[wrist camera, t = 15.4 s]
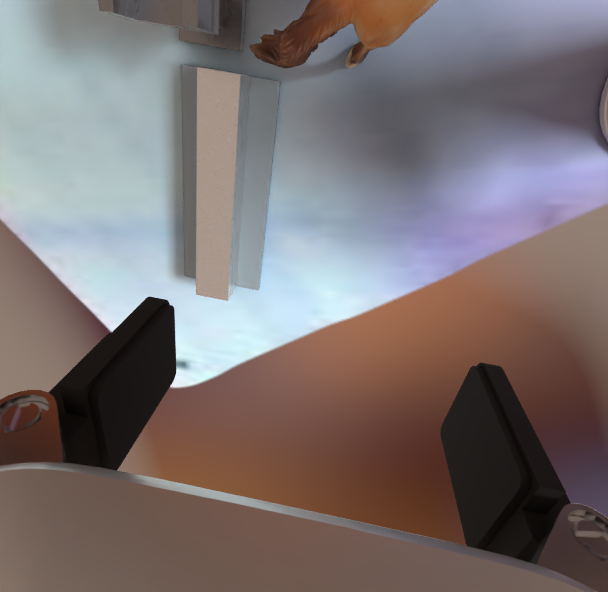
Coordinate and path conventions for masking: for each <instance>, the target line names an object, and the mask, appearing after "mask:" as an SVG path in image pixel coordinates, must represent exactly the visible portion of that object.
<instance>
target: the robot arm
mask: <svg viewBox="0 0 608 592" xmlns="http://www.w3.org/2000/svg"><path fill="white" fill-rule="evenodd" d="M599 116H600V125H601V129H602V133H603V135H604V136H605V138H606V140H607V142H608V78H607V81H606V84H605V86H604V89H603V92H602V96H601V101H600V107H599ZM175 375H176V348H175V318H174V307H173V306H171V305H169V302H168V301H167V300H164V299H159V298H154V297H148V298H146V299H145V300H144V301H143V302H142V303H141V304H140V305H139V306H138V307H137V308H136V309H135V310H134V311H133V312H132V313H131V314H130V315H129V316H128V317H127V318H126V319H125V320H124V321H123V322H122V323H121V324H120V325H119V326H118V327H117V328H116V329H115V330H114V331H113V332H112V333H109V334H108V335H106V337H104V338H103V339H102V340H101V341H100V342H99V343H98V344H97V345H96V346H95V347H94V348H93V349H92V350H91V351H90V352H89V353H88V354H87V355H86V356H85V357H84V358H83V359H82V360H81V361H80V362H79V363H78V364H77V365H76V366H75V367H74V368H73V369H72V370H71V371H70V372H69V373H68V374H67V375H66V376H65V377H64V378H63V379H62V380H61V381H60V382H59V383H58V384H57V385H56V386H55V387H54V388H53V389H52V390H51V391H50V392H49V393H48V392H45V391H41V390H27V391H21V392H17V393H14V394H12V395H8V396H6V397H4V398H2V399H0V592H608V518H607V517H605V516H604V515H603V514H601V513H599V512H598V511H596V510H594V509H593V508H590V507H588V506H585V505H583V504H576V503H570V501H569V499H568V497H567V495H566V493H565V492H566V491H565V490H564V488H563V486H562V484H561V482H560V480H559V478H558V476H557V474H556V472H555V470H554V468H553V466H552V465H551V462H550V461H549V459H548V456H547V454H546V453H545V451H544V449H543V447H542V445H541V443H540V441H539V439H538V437H537V435H536V433H535V431H534V430H533V427H532V425H531V423H530V421H529V419H528V417H527V415H526V414H525V412H524V410H523V408H522V406H521V404H520V402H519V400H518V398H517V396H516V394H515V392H514V390H513V388H512V386H511V384H510V382H509V381H508V378H507V376H506V374H505V372H504V371H503V369H502V368H501V367H500V366H496V365H491V364H485V363H479V364H478V365H477V366H473V367H471V368H470V370H469V372H468V374H467V376H466V378H465V380H464V382H463V384H462V386H461V388H460V390H459V392H458V394H457V396H456V398H455V400H454V402H453V404H452V406H451V408H450V410H449V412H448V414H447V416H446V418H445V420H444V422H443V424H442V427H441V439H442V443H443V447H444V452H445V456H446V460H447V464H448V469H449V473H450V477H451V482H452V486H453V490H454V494H455V498H456V503H457V507H458V511H459V515H460V519H461V524H462V528H463V532H464V537H465V541H466V544H467V546H464V545H460V544H456V543H452V542H447V541H443V540H439V539H434V538H430V537H425V536H421V535H416V534H412V533H407V532H402V531H398V530H394V529H389V528H384V527H380V526H375V525H371V524H366V523H362V522H358V521H353V520H349V519H344V518H340V517H335V516H330V515H326V514H321V513H317V512H311V511H307V510H302V509H298V508H293V507H289V506H284V505H280V504H275V503H270V502H266V501H261V500H256V499H251V498H247V497H242V496H238V495H232V494H228V493H224V492H218V491H214V490H209V489H205V488H199V487H195V486H190V485H185V484H181V483H176V482H171V481H167V480H162V479H157V478H152V477H147V476H141V475H136V474H131V473H126V472H121V471H117V469H118V468H119V466H120V465H121V463H122V462H123V460H124V459H125V457H126V455H127V454H128V452H129V451H130V449H131V448H132V446H133V444H134V442H135V441H136V439H137V438H138V436H139V435H140V433H141V432H142V430H143V428H144V427H145V425H146V424H147V422H148V420H149V419H150V417H151V416H152V414H153V413H154V411H155V409H156V408H157V406H158V404H159V403H160V401H161V400H162V398H163V396H164V395H165V393H166V392H167V390H168V389H169V387H170V385H171V384H172V382H173V380H174V378H175Z"/></svg>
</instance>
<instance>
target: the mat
mask: <svg viewBox="0 0 608 592" xmlns="http://www.w3.org/2000/svg"><path fill="white" fill-rule="evenodd" d="M181 66H182V131H183V197H184V263H185V276H188V277H193V278H196V196H197V67H194V66H188V65H182V64H181ZM280 83H281V82H279V81H273V80H268V79H262V78H256V77H251V90H250V104H249V119H248V133H247V147H246V162H245V176H244V191H243V205H242V220H241V234H240V249H239V263H238V277H237V286H239V287H245V288H250V289H255V290H259V288H260V278H261V268H262V259H263V249H264V239H265V229H266V220H267V210H268V200H269V190H270V181H271V171H272V161H273V151H274V142H275V132H276V122H277V113H278V103H279V93H280Z"/></svg>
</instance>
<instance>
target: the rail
mask: <svg viewBox="0 0 608 592" xmlns="http://www.w3.org/2000/svg"><path fill="white" fill-rule="evenodd" d="M250 90H251V76H249V75H243V74H238V73H232V72H226V71H221V70H215V69H208V68H201V67H197V196H196V295H201V296H206V297H212V298H217V299H222V300H227V301H228V300H229V298H230V296H231V295H232V293H233V291H234V290H235V288H236V286H237V277H238V263H239V249H240V234H241V220H242V205H243V191H244V176H245V162H246V147H247V133H248V119H249V104H250Z"/></svg>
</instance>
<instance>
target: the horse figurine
mask: <svg viewBox="0 0 608 592" xmlns="http://www.w3.org/2000/svg"><path fill="white" fill-rule="evenodd" d="M437 1H438V0H311V1H310V2H309V4H308V5H307V7H306V9H305V11H304V13H303V14H302V16H301V17H300V18H299V19H298V20H296V21H293V22H292V23H291V24H289V25H288V26H287V28H286V29H285V30H284V31H279V30H274V34H275V35H267V34H265V35H263V36H262V37H261V39H262V43H261V44H253V45H250V49H251V51H252V52H253V53H254V54H255V56H256V57H257V58H258V59H261V60H262V61H264V62H266V63H269V64H273V65H276V66H279V67H282V68H291V67H295V66H299V65H301V64H303V63H305V62H306V60H307V59H308V57H309V56H310V55H311V52H314V51H315V50H316V49H317V47H318V43H321V42H323V41H325V40H326V39H328V38H329V37H332V36H333V35H335V34H336V33H337V31H338V30H340V29H342V28H344V27H346V26H347V25H348V24H351V23H353V25H354V28H355V31H356V33H357V35H358V38H359V40H360V42H358V43H357V44H355V45H354V46H353V47H352V49H351V50H350V52H349V53H348V55H347V59H346V61H345V65H346V67H347V68H354V67H355V66H356V65H358V64H359V63H361V62H362V61H363V60H364V59H365V57H366V55H367V54H368V52H369V51H370V50H373V49H375V48H377V47H384V46H388V45H390V44H391V43H393V42H394V41H395V40H396V39H398V38H399V37H400V36H401V35H402V34H403V33H404V32H405V31H406V30H407V29H408V27H409V26H410V25H411V24H412V23H413V22H414V21H415V20H417V19H418V18H419V17H420V16H422V15H423V14H424V13H425V12H426V11H427V10H428V9H429V8H430V7H431V6H433V5H434V4H435V3H436V2H437Z"/></svg>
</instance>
